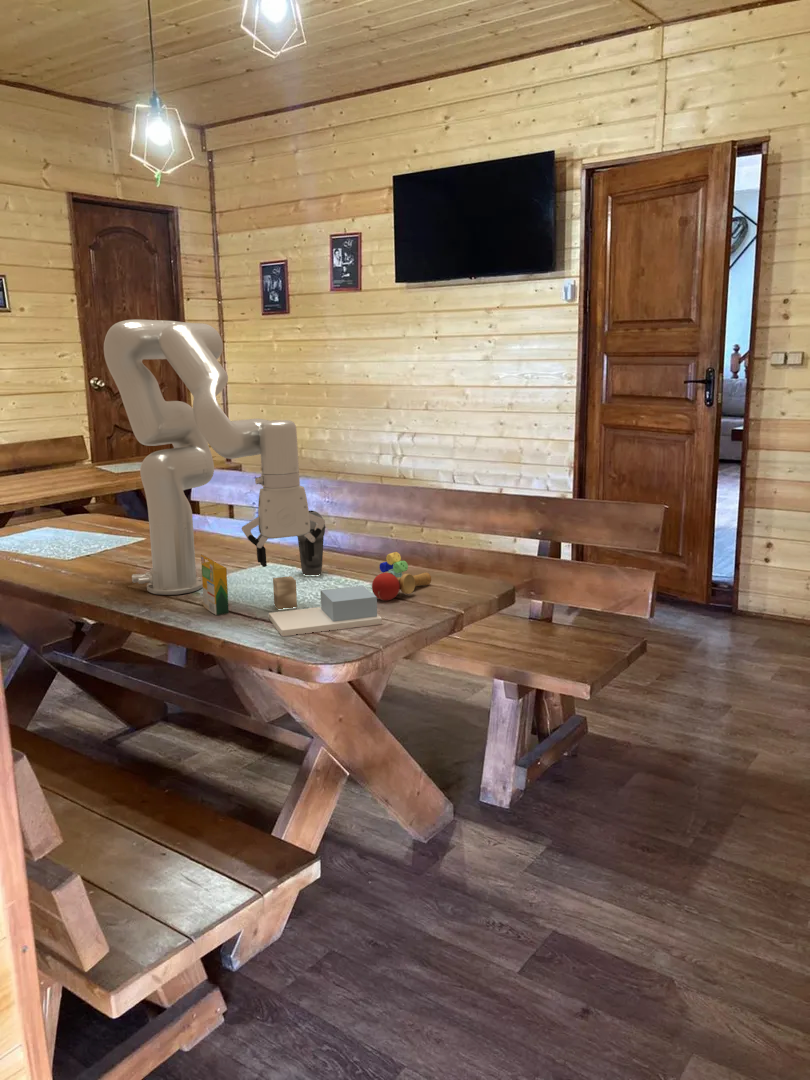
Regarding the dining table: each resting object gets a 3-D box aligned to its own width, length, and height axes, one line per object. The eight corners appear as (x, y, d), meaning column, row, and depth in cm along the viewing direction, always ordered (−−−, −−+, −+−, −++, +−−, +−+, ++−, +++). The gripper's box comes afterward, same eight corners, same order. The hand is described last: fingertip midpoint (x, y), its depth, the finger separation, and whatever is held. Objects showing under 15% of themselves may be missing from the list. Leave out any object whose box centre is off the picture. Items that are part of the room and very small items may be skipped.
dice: (378, 576, 208) (378, 550, 207) (387, 574, 210) (386, 548, 208) (400, 582, 202) (400, 555, 201) (409, 580, 204) (409, 553, 203)
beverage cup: (322, 578, 206) (319, 495, 202) (292, 577, 208) (289, 494, 203) (330, 571, 213) (328, 490, 209) (302, 570, 214) (299, 489, 210)
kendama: (409, 587, 203) (360, 594, 189) (415, 561, 202) (366, 567, 187) (435, 598, 199) (387, 606, 184) (441, 572, 198) (394, 578, 183)
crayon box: (229, 613, 180) (226, 558, 178) (215, 615, 178) (212, 560, 176) (216, 605, 186) (213, 552, 184) (203, 607, 184) (199, 553, 182)
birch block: (278, 610, 182) (277, 582, 180) (274, 605, 185) (272, 578, 184) (297, 608, 183) (296, 580, 182) (292, 603, 187) (291, 576, 185)
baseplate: (282, 636, 165) (281, 610, 164) (269, 618, 176) (267, 593, 175) (382, 623, 172) (381, 598, 171) (363, 607, 183) (362, 583, 182)
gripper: (242, 487, 172) (248, 571, 175) (326, 480, 178) (331, 561, 181) (235, 482, 179) (241, 563, 182) (317, 476, 185) (321, 554, 188)
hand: (286, 562), depth 182 cm, fingers open, 9 cm apart
